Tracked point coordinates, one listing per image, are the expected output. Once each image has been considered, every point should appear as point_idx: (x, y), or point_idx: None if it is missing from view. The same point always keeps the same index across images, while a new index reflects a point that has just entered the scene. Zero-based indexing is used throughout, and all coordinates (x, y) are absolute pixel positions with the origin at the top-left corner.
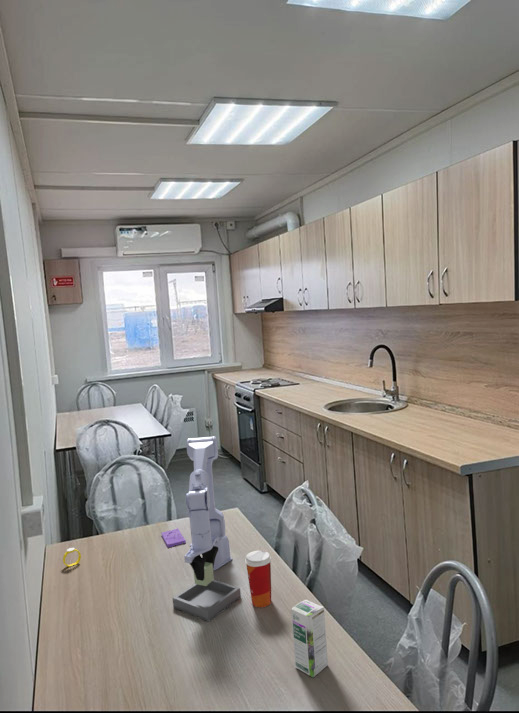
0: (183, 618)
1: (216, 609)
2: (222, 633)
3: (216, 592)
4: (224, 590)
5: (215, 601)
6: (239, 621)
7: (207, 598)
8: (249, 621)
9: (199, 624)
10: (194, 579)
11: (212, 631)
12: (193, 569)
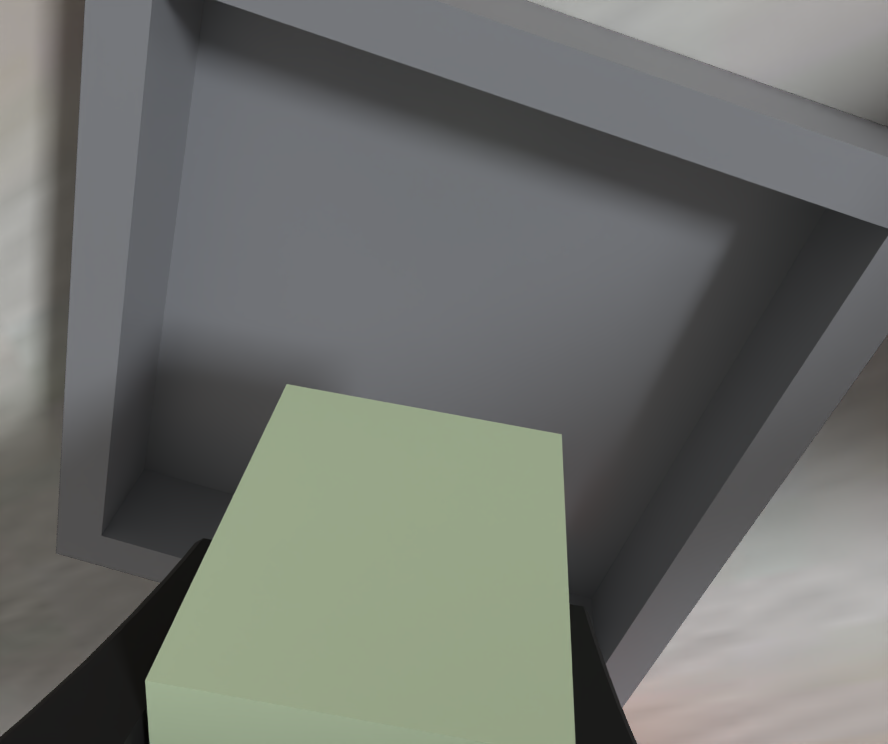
0: (28, 185)
1: None
2: (31, 615)
3: (656, 386)
4: (669, 493)
5: None
6: None
7: (488, 331)
8: None
9: (32, 406)
10: (264, 436)
11: (9, 544)
12: (20, 730)
